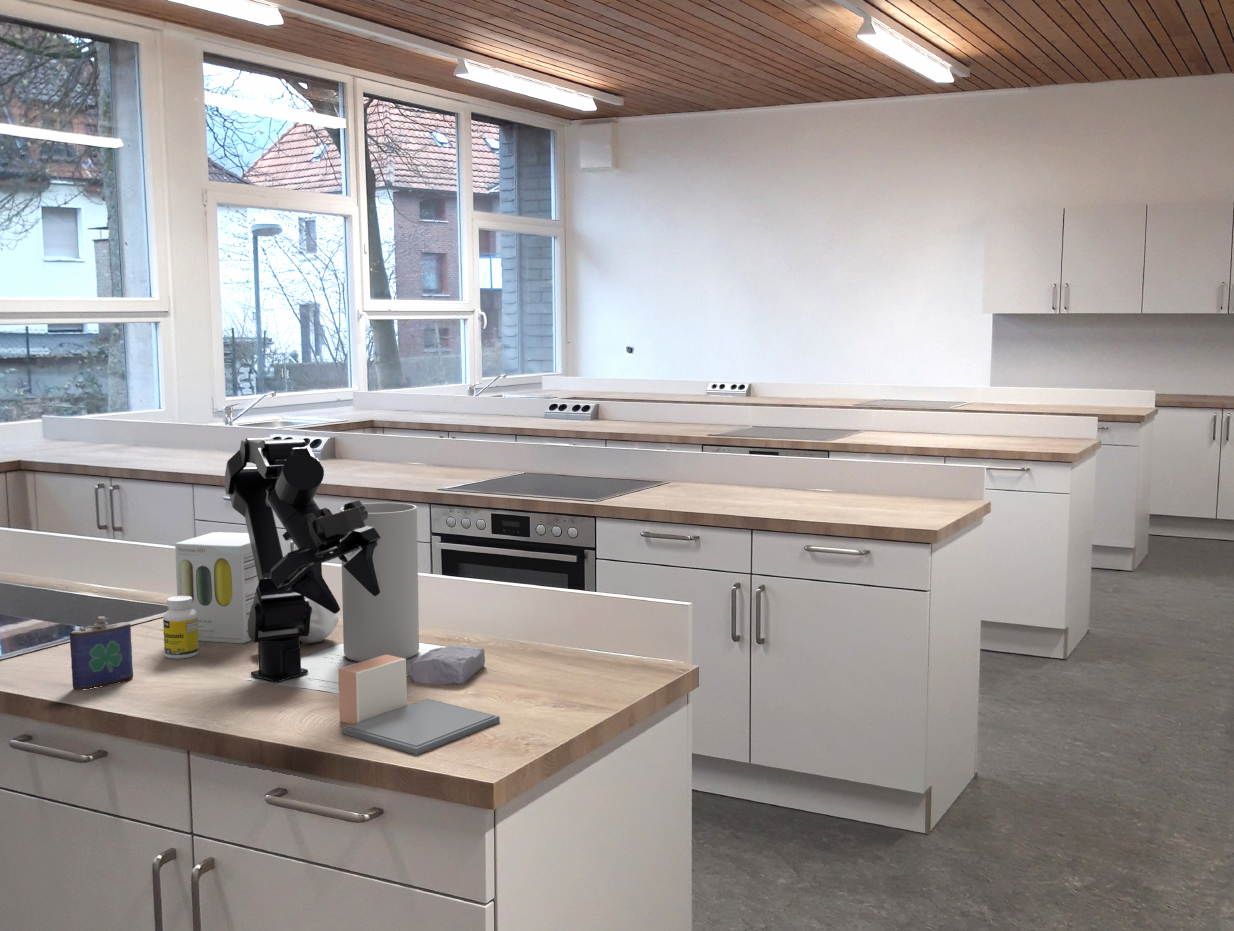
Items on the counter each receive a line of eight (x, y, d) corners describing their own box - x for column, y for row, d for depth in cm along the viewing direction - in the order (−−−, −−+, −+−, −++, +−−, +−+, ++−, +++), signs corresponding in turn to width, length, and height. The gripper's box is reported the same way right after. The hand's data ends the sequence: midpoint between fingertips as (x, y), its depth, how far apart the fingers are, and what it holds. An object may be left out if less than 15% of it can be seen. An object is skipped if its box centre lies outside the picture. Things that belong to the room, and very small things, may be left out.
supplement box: (176, 640, 207) (172, 542, 205) (217, 622, 220) (214, 530, 218) (244, 644, 204) (241, 545, 202) (281, 626, 217) (279, 533, 215)
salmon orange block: (339, 720, 163) (338, 668, 162) (387, 704, 170) (386, 654, 170) (359, 726, 161) (358, 673, 160) (406, 709, 168) (405, 658, 167)
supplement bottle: (157, 657, 195) (155, 599, 194) (180, 649, 200) (178, 593, 199) (183, 660, 193) (180, 602, 192) (205, 652, 198) (203, 596, 197)
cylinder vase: (378, 641, 206) (375, 500, 203) (434, 650, 200) (432, 506, 197) (327, 657, 195) (324, 509, 193) (384, 668, 189) (381, 515, 186)
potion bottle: (339, 643, 210) (276, 673, 198) (304, 608, 213) (240, 635, 201) (357, 607, 206) (294, 635, 193) (321, 571, 209) (256, 597, 196)
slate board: (342, 733, 158) (342, 726, 157) (427, 703, 170) (427, 697, 170) (416, 754, 149) (416, 748, 149) (499, 722, 162) (499, 715, 162)
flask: (129, 676, 185) (125, 609, 183) (137, 679, 183) (134, 612, 181) (69, 689, 178) (65, 620, 177) (77, 693, 176) (74, 623, 175)
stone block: (406, 694, 182) (466, 685, 179) (400, 664, 181) (460, 655, 179) (434, 675, 193) (490, 667, 191) (428, 647, 193) (485, 638, 191)
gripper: (288, 498, 160) (350, 591, 158) (372, 474, 177) (429, 558, 175) (243, 541, 165) (303, 632, 163) (329, 514, 182) (384, 596, 180)
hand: (358, 603), depth 170 cm, fingers open, 9 cm apart
